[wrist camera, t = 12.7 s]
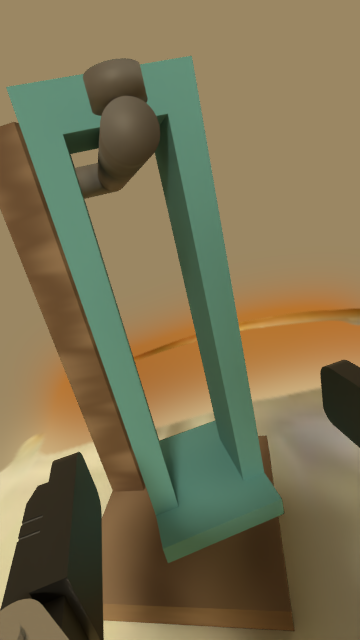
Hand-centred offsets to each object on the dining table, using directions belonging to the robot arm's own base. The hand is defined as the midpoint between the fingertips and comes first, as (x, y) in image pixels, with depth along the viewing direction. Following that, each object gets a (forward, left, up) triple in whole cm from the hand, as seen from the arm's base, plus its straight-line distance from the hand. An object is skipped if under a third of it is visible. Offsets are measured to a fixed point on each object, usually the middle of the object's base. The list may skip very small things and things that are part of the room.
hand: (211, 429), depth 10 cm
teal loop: (-2, -6, -8) cm, 10 cm away
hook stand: (-1, -8, -13) cm, 15 cm away
